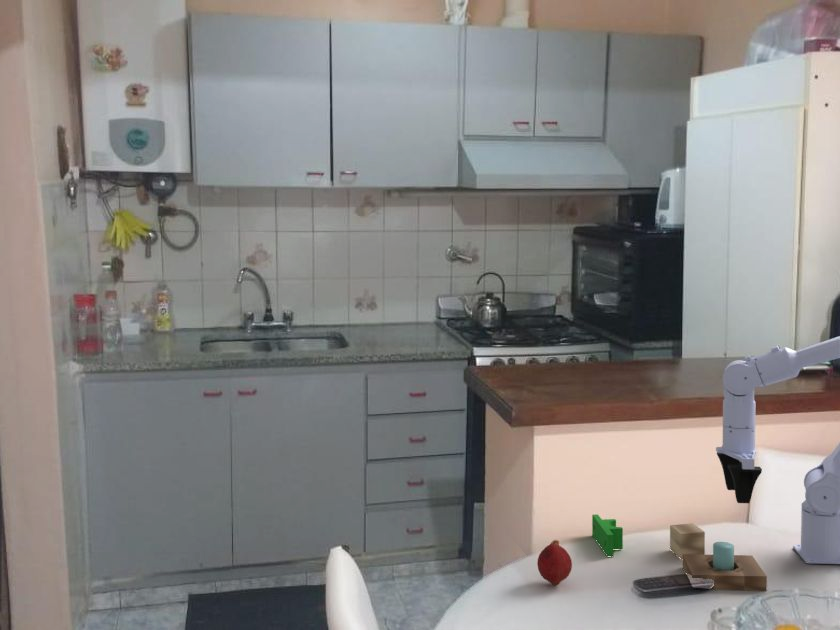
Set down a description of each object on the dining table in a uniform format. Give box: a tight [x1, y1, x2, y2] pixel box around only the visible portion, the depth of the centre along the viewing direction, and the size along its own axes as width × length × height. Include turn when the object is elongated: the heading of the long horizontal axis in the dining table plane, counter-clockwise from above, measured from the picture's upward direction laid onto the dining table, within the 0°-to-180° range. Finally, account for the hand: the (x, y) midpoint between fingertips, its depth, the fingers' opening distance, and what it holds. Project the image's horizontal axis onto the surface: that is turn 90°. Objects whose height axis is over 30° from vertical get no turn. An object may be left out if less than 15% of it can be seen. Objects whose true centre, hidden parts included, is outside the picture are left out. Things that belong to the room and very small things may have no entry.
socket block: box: [682, 554, 768, 592], centre depth 148 cm, size 12×9×2 cm
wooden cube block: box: [669, 522, 706, 559], centre depth 159 cm, size 5×5×5 cm
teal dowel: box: [712, 541, 735, 571], centre depth 148 cm, size 3×3×6 cm
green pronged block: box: [591, 513, 624, 557], centre depth 164 cm, size 11×4×5 cm, turn 3°
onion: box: [536, 539, 573, 586], centre depth 147 cm, size 6×6×8 cm
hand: (738, 496), depth 161 cm, fingers open, 7 cm apart
